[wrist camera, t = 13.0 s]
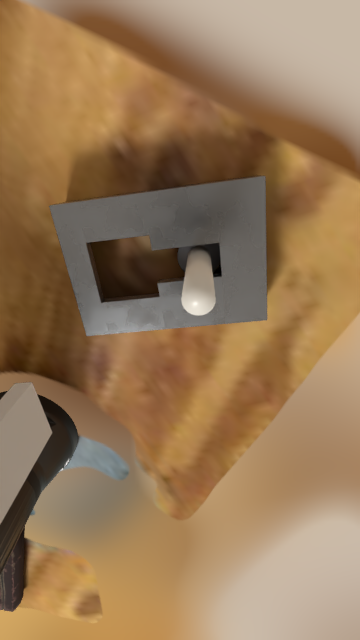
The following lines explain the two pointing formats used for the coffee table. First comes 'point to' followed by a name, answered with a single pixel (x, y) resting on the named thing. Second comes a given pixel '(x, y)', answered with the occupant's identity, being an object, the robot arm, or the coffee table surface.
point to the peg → (199, 277)
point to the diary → (13, 577)
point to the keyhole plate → (168, 232)
